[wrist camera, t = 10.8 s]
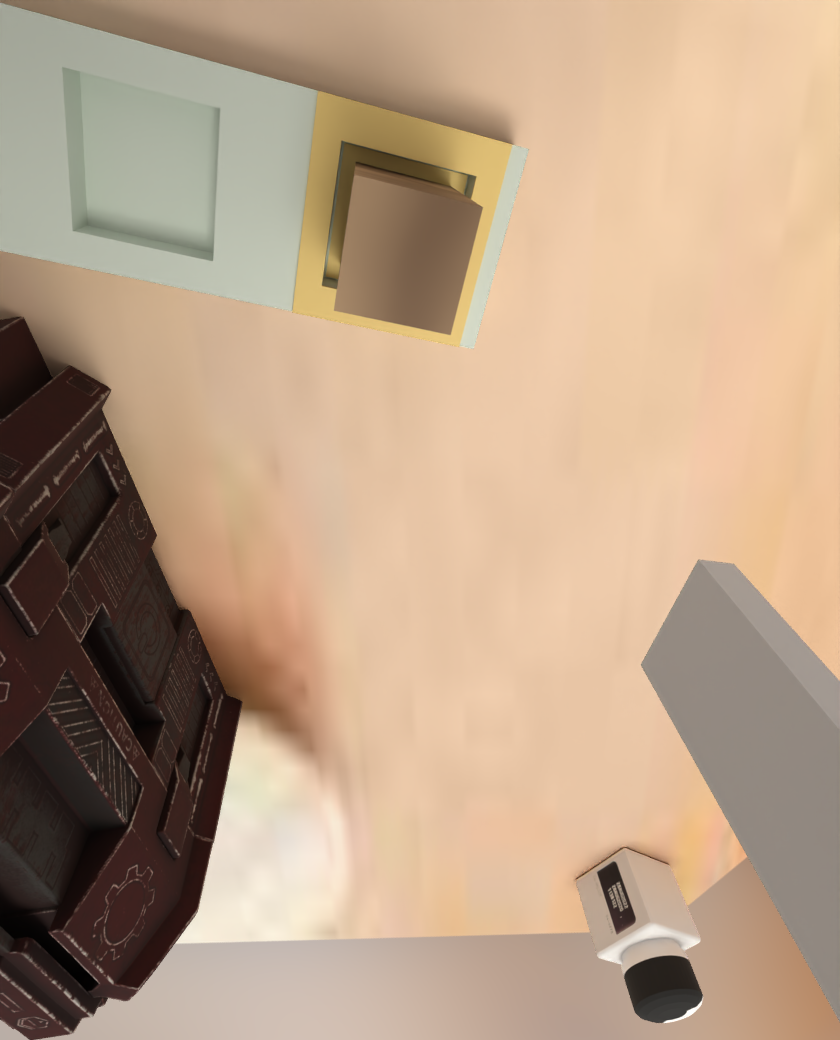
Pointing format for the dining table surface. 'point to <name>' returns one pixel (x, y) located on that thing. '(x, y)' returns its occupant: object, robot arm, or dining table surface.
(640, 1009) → the container
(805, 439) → the dining table surface
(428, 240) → the walnut block
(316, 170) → the sorting tray
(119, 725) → the crate
